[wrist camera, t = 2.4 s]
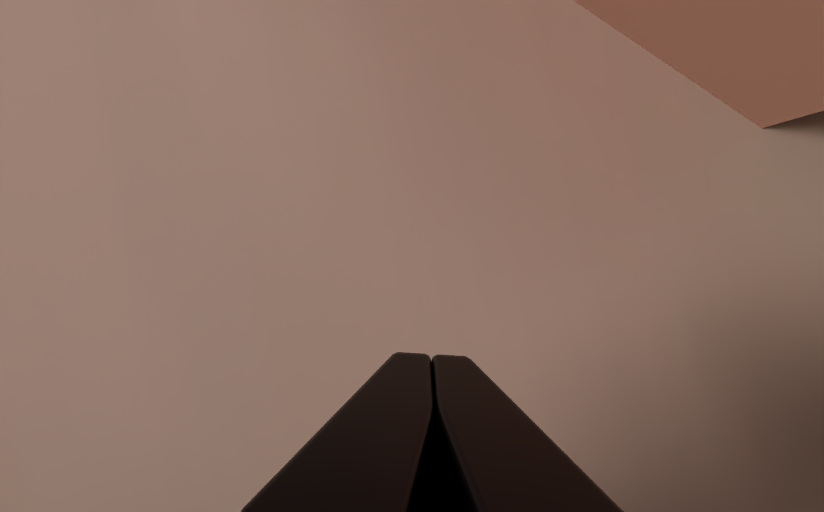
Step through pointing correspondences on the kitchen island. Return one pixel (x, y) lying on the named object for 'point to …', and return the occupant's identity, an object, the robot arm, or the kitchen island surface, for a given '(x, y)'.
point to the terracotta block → (734, 49)
